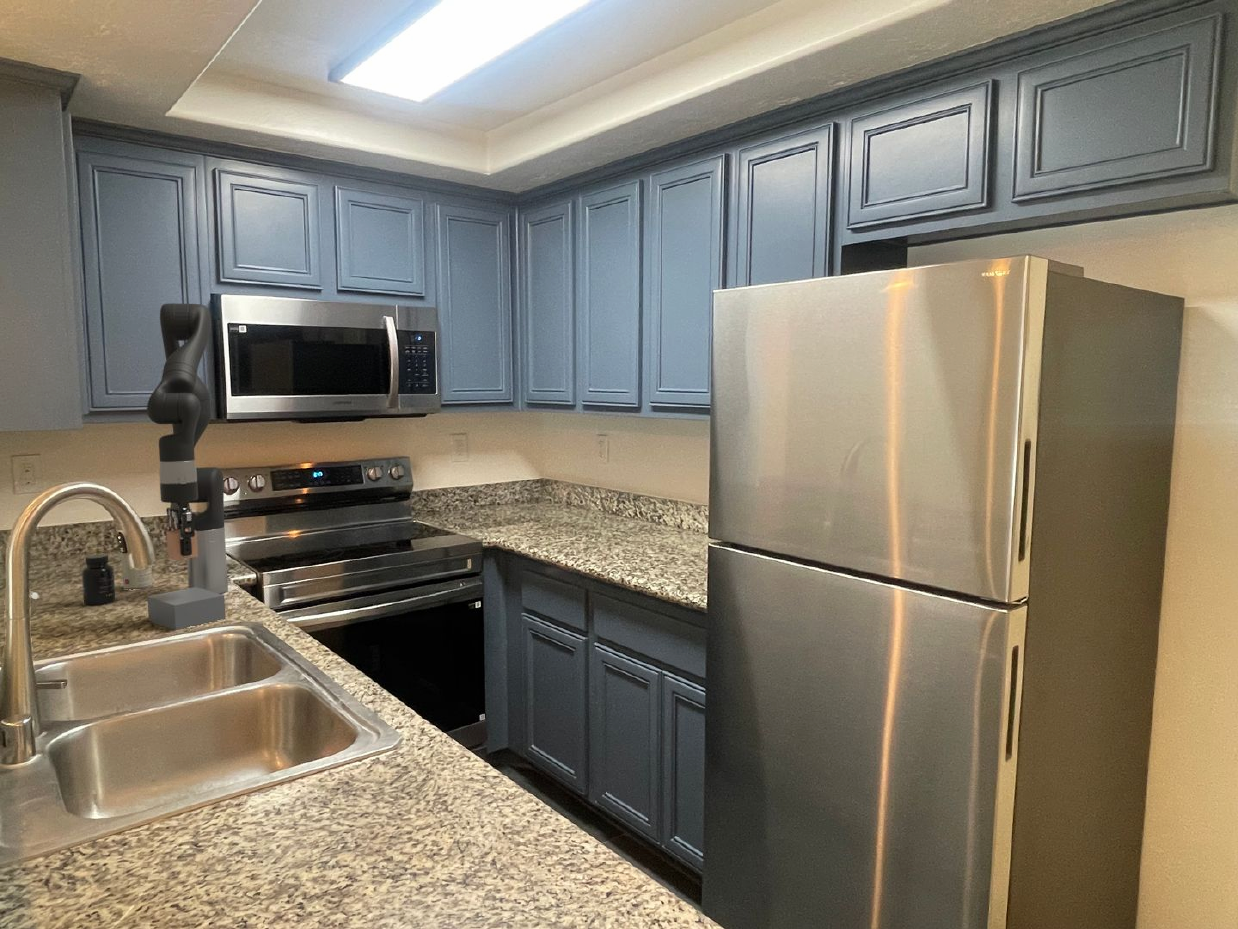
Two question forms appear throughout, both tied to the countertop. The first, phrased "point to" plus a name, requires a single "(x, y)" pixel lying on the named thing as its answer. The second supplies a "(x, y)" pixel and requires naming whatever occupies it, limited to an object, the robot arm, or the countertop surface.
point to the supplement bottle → (98, 581)
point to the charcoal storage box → (186, 608)
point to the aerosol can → (135, 576)
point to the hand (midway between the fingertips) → (182, 553)
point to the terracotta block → (174, 545)
